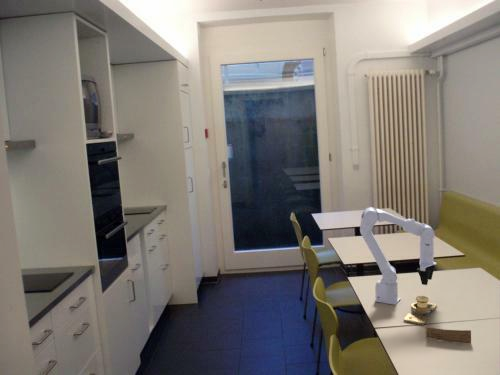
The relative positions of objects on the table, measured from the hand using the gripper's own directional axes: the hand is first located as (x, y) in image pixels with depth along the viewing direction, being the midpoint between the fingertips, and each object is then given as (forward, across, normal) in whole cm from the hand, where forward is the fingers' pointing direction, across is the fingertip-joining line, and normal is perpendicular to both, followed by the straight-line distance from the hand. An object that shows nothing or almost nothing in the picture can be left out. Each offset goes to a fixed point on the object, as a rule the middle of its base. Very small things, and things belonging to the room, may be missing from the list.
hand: (426, 281), depth 211 cm
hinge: (+9, -14, -1) cm, 17 cm away
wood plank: (+10, -34, -16) cm, 39 cm away
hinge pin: (+9, -14, -2) cm, 17 cm away
